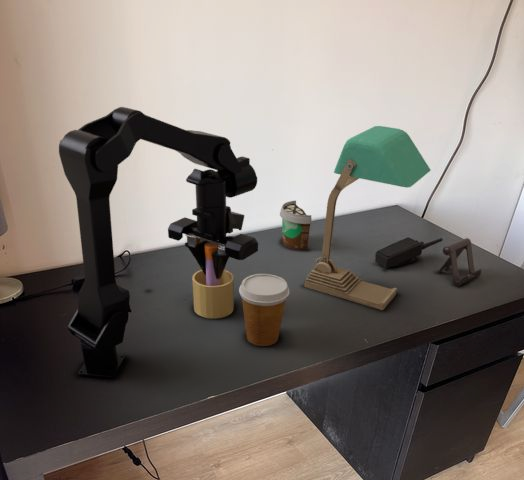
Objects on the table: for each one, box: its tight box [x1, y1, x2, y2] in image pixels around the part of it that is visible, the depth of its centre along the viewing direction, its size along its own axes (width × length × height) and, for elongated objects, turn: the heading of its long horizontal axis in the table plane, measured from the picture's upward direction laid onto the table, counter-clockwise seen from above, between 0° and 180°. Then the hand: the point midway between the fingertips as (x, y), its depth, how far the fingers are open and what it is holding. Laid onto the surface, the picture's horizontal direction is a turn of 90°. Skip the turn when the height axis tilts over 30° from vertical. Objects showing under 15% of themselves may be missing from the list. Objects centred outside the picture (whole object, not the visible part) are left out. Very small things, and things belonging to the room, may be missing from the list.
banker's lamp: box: [304, 125, 431, 311], centre depth 112 cm, size 16×21×35 cm
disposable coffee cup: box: [238, 273, 290, 347], centre depth 102 cm, size 10×10×12 cm
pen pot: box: [191, 269, 235, 319], centre depth 112 cm, size 9×9×8 cm
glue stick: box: [205, 242, 220, 286], centre depth 108 cm, size 3×3×9 cm
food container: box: [279, 200, 312, 251], centre depth 140 cm, size 12×6×10 cm, turn 17°
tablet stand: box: [437, 237, 482, 287], centre depth 128 cm, size 9×8×8 cm
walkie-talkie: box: [374, 237, 444, 269], centre depth 136 cm, size 6×6×20 cm
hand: (212, 276), depth 110 cm, fingers closed on glue stick, 3 cm apart
